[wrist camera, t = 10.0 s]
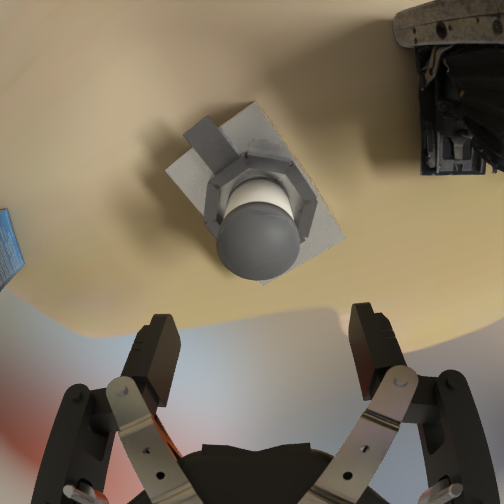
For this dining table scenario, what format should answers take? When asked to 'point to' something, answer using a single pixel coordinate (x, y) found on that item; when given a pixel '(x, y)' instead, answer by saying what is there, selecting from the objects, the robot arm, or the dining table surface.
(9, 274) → the blue printed box
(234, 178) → the octagonal ring slab
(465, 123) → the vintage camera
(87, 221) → the dining table surface
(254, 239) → the cream grey cylinder
